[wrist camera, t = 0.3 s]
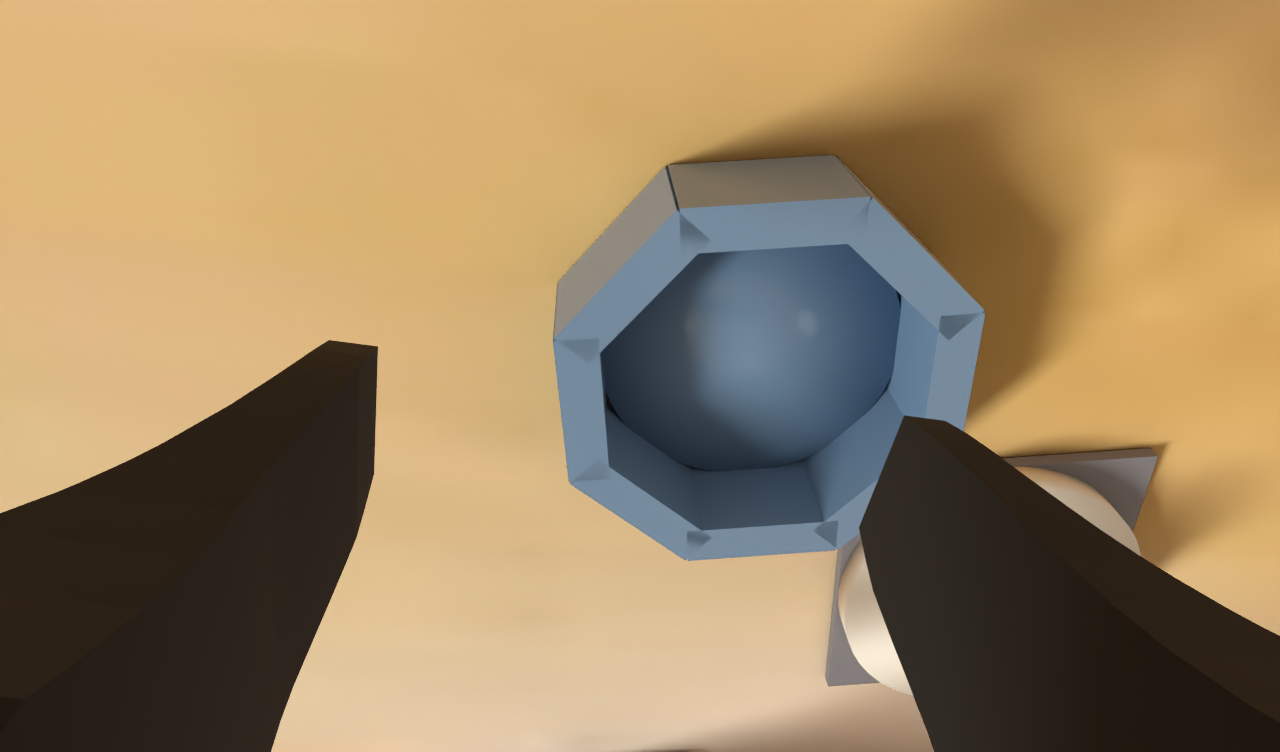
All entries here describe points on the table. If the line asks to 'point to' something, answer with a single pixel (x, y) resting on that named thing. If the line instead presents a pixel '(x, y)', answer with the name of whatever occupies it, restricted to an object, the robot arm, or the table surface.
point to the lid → (865, 614)
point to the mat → (1105, 471)
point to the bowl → (754, 355)
